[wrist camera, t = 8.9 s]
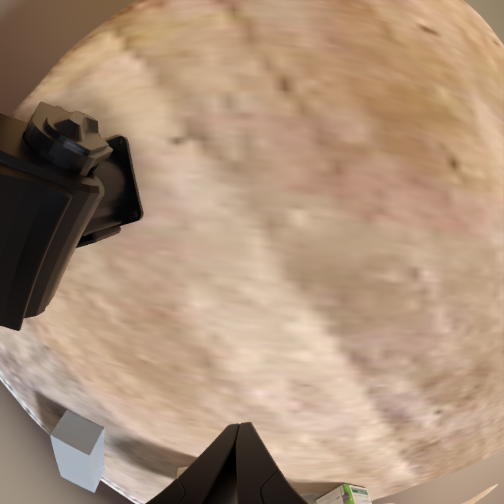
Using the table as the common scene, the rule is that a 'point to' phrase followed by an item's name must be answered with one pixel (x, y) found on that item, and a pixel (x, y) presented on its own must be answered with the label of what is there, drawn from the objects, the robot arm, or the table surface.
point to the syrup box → (346, 496)
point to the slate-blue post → (79, 450)
